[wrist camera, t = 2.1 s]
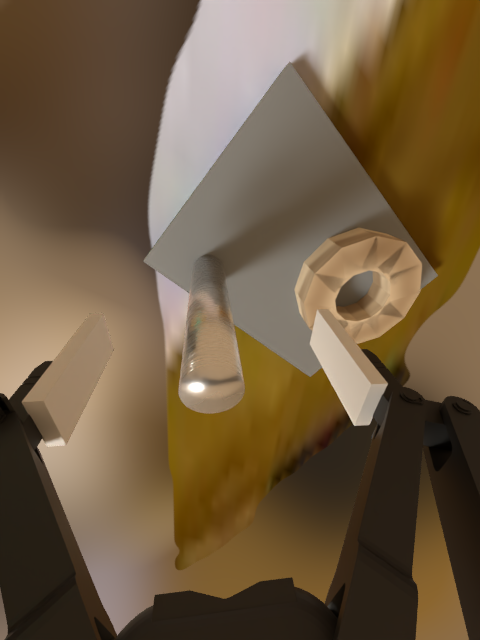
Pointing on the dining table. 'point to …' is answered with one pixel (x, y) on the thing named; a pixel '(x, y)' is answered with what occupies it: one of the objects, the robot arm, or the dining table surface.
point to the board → (278, 217)
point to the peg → (210, 343)
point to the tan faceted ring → (354, 258)
